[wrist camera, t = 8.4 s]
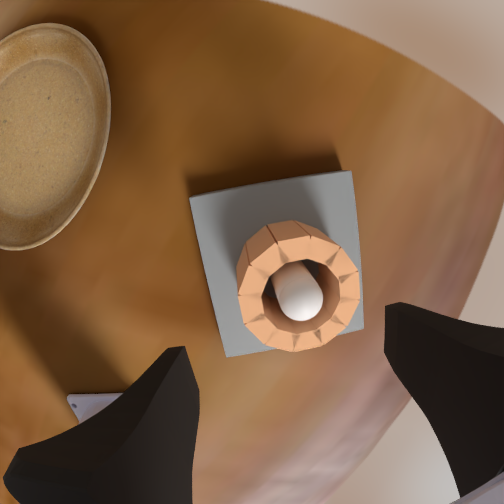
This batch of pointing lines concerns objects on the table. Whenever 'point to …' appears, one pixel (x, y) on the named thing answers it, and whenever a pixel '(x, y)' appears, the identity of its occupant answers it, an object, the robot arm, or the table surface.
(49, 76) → the plant saucer
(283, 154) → the table surface
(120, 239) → the table surface
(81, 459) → the robot arm
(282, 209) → the post base
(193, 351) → the table surface
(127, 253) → the table surface
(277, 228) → the ring
